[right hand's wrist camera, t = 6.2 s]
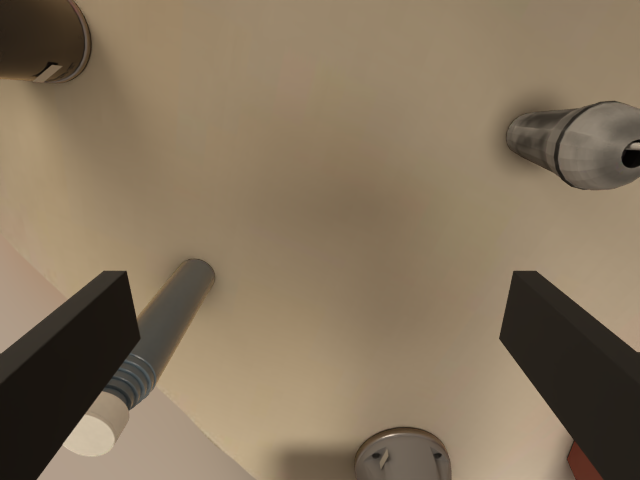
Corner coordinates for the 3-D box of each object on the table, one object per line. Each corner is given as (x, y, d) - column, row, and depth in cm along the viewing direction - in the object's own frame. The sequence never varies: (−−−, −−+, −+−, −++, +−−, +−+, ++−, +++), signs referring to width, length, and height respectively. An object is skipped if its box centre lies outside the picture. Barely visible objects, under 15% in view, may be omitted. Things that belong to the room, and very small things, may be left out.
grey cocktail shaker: (507, 178, 43) (648, 239, 25) (484, 122, 41) (620, 143, 22) (568, 145, 42) (766, 184, 23) (547, 86, 40) (749, 76, 21)
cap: (70, 389, 27) (50, 412, 25) (126, 392, 27) (110, 415, 25) (79, 429, 28) (61, 455, 26) (132, 432, 28) (117, 458, 26)
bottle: (176, 257, 47) (46, 402, 25) (214, 259, 47) (119, 406, 25) (178, 290, 49) (59, 454, 27) (215, 293, 49) (127, 457, 27)
